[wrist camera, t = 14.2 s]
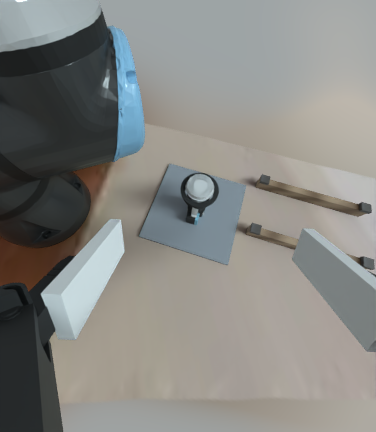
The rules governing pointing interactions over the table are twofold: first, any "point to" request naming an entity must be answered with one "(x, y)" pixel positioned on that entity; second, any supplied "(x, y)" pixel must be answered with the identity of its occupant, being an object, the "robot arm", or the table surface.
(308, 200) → the rails
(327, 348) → the table surface
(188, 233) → the slate mat
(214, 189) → the push button
